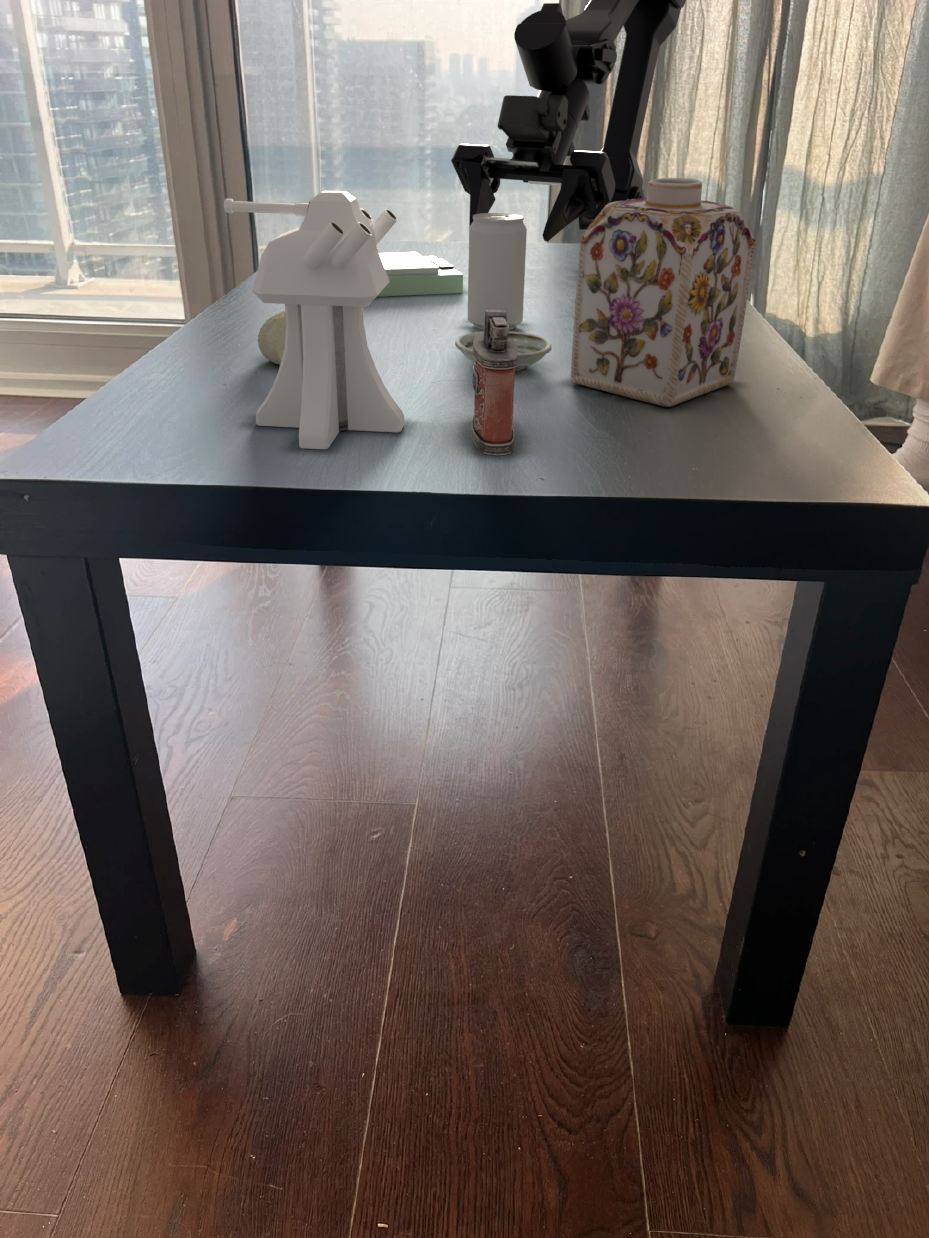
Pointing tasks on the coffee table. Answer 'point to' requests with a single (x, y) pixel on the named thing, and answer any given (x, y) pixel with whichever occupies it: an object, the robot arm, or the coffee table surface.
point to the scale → (419, 275)
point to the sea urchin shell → (273, 338)
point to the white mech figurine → (325, 318)
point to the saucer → (527, 344)
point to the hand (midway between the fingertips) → (507, 235)
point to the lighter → (494, 386)
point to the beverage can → (496, 267)
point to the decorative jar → (661, 295)
